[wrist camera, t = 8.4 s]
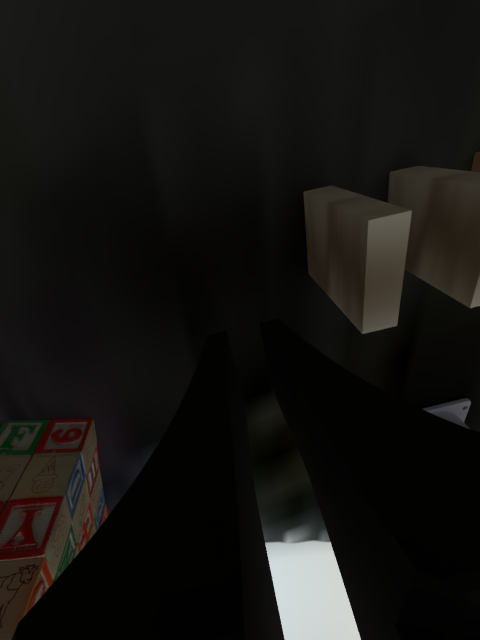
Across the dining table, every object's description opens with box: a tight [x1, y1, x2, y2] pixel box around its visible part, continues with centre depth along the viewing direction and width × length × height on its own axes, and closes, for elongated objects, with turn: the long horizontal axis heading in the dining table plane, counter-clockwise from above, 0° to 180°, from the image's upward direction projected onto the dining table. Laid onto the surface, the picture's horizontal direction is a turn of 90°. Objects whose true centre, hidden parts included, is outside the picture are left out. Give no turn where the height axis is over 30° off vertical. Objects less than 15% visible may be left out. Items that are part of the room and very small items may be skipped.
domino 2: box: [387, 166, 480, 308], centre depth 15 cm, size 5×2×7 cm, turn 11°
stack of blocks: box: [0, 419, 108, 640], centre depth 22 cm, size 21×6×12 cm, turn 172°
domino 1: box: [303, 185, 412, 334], centre depth 15 cm, size 5×2×7 cm, turn 11°
